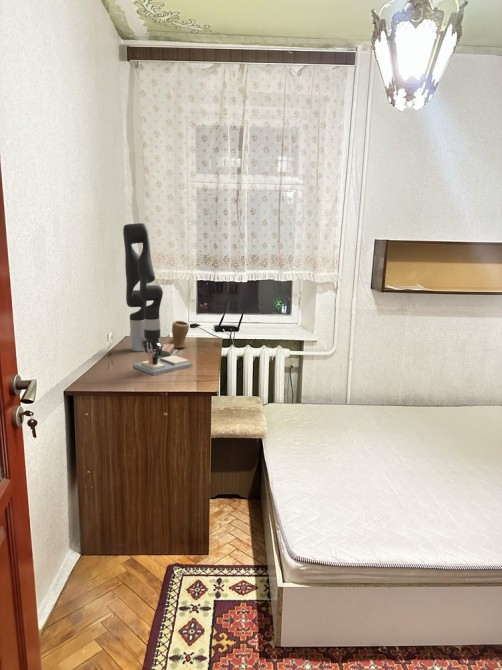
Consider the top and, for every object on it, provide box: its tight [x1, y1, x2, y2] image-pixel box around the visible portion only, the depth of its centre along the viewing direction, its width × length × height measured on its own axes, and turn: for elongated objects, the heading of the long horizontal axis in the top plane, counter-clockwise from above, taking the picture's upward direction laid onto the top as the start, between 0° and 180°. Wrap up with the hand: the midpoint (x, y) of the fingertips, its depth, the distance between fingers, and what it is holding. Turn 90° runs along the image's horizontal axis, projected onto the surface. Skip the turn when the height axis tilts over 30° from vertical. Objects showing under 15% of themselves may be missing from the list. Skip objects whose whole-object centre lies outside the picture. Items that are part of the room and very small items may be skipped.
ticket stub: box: [141, 353, 165, 369], centre depth 211 cm, size 12×6×6 cm, turn 45°
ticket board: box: [132, 354, 193, 376], centre depth 215 cm, size 18×22×2 cm
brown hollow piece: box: [167, 320, 190, 349], centre depth 255 cm, size 15×12×15 cm
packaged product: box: [158, 343, 179, 359], centre depth 237 cm, size 18×5×10 cm
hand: (153, 363), depth 211 cm, fingers closed on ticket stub, 3 cm apart
